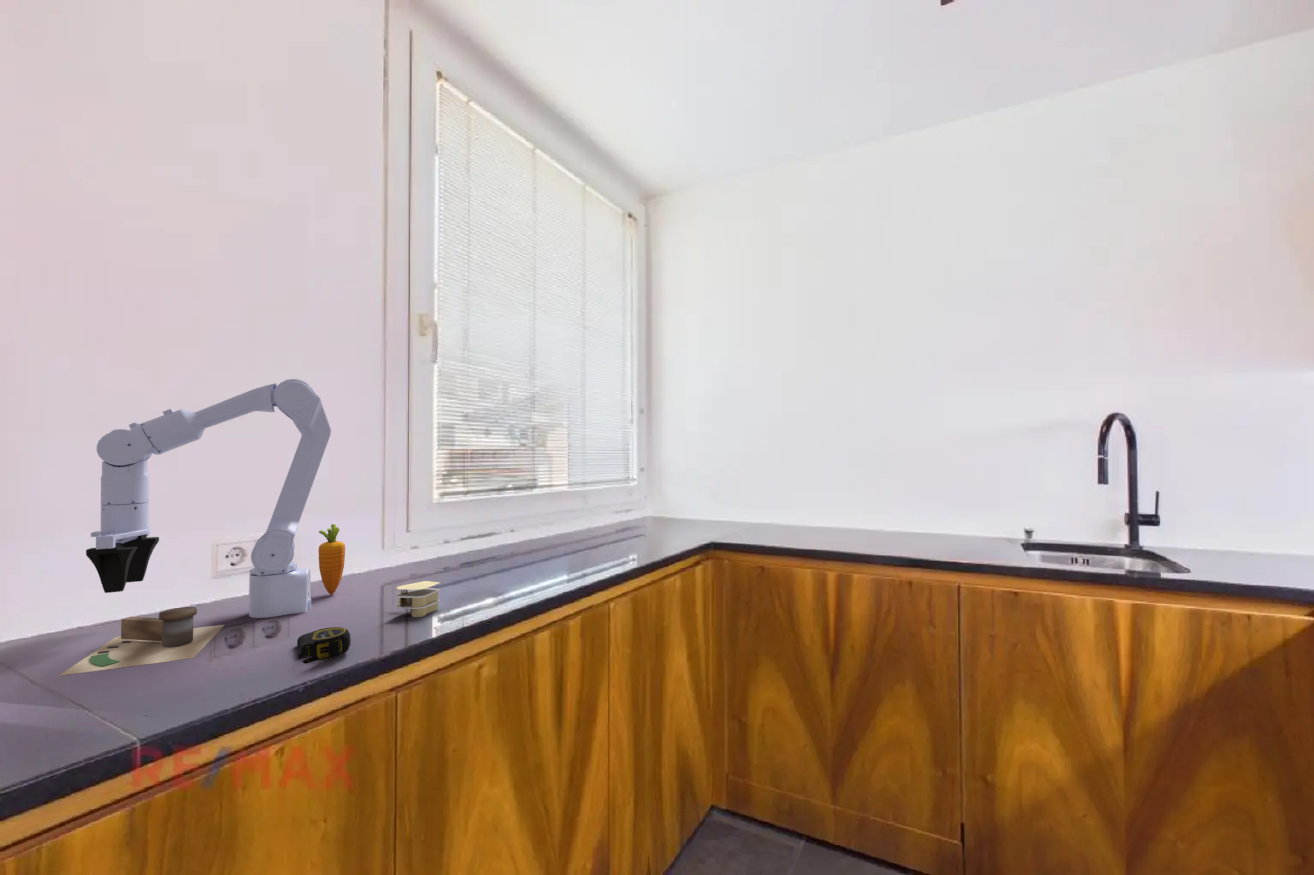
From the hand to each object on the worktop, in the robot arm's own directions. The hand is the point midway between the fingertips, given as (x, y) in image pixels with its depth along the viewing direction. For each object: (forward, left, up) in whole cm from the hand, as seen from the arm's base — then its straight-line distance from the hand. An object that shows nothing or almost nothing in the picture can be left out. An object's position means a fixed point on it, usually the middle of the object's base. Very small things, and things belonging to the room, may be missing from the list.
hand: (124, 586), depth 91 cm
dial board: (-7, +12, -9) cm, 16 cm away
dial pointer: (-7, +10, -7) cm, 14 cm away
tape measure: (-30, +24, -9) cm, 39 cm away
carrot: (-28, -18, -9) cm, 35 cm away
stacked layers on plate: (-44, +5, -9) cm, 45 cm away
